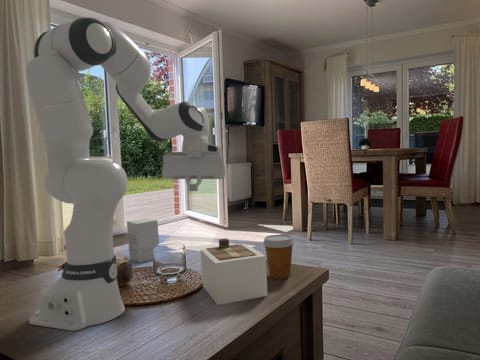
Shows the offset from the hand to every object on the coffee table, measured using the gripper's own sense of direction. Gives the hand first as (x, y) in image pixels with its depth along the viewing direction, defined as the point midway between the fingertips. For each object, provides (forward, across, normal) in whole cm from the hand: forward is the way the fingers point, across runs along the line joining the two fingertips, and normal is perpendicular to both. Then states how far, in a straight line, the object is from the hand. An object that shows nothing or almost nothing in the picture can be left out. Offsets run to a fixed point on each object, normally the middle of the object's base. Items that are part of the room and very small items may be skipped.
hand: (192, 190), depth 121 cm
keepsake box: (+31, +13, +1) cm, 33 cm away
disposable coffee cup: (+24, +28, +11) cm, 38 cm away
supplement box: (+13, -22, +37) cm, 45 cm away
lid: (+22, +12, -2) cm, 25 cm away
